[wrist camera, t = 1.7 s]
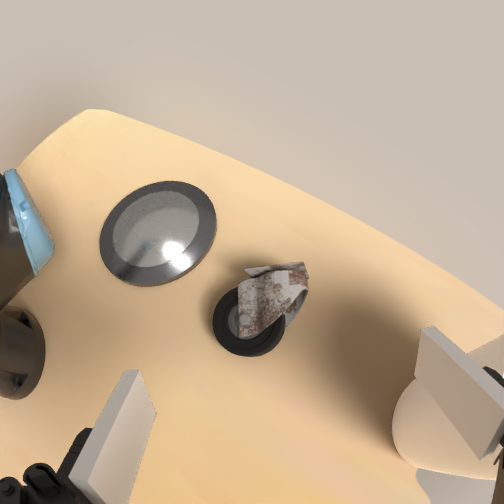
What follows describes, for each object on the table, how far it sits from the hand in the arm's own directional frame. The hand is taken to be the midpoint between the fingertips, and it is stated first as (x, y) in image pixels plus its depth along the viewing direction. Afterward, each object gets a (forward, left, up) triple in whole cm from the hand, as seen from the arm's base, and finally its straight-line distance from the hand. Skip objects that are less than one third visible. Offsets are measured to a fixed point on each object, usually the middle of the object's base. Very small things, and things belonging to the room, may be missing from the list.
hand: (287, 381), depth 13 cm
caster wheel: (0, +11, -23) cm, 25 cm away
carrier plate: (-15, +26, -22) cm, 38 cm away
